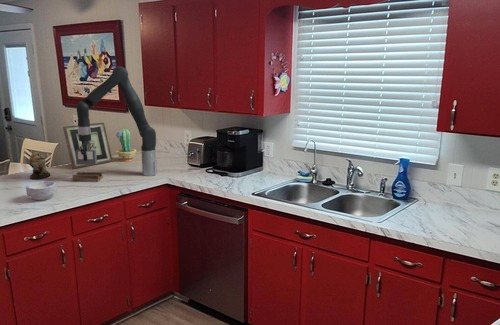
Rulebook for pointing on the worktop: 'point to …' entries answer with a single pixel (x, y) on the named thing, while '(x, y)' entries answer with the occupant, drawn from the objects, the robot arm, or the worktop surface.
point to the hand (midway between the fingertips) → (86, 159)
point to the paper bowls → (41, 190)
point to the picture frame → (97, 142)
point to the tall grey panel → (90, 157)
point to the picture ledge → (87, 177)
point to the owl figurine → (38, 166)
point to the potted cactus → (125, 146)
